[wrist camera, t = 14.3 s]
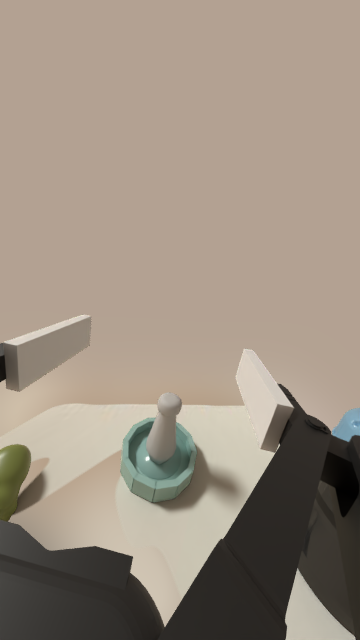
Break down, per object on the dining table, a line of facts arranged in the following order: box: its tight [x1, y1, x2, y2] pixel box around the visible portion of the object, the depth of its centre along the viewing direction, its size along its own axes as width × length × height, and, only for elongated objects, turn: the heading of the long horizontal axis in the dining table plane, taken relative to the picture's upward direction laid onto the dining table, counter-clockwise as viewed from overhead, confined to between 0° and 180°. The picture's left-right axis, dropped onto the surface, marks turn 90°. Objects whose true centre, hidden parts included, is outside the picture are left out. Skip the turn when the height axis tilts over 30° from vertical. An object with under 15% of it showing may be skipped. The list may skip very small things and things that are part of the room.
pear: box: [0, 444, 31, 522], centre depth 26 cm, size 6×5×10 cm
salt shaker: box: [146, 393, 182, 465], centre depth 34 cm, size 6×6×13 cm
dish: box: [120, 418, 197, 502], centre depth 36 cm, size 14×14×3 cm
